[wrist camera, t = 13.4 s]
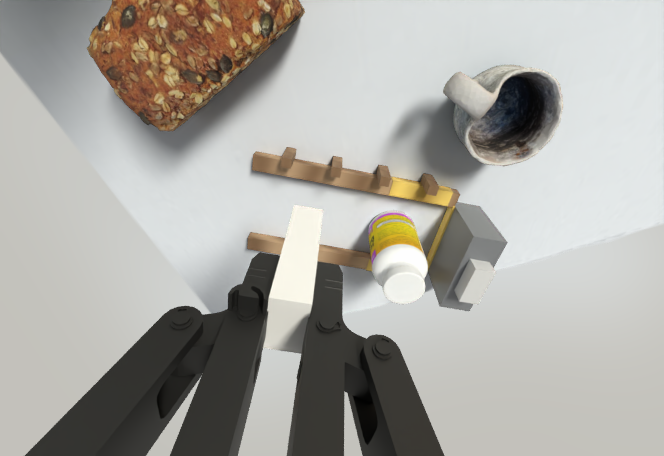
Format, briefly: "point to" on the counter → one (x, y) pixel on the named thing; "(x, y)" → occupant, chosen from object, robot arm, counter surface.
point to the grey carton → (464, 256)
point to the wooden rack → (345, 178)
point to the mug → (505, 112)
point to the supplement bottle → (397, 257)
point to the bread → (183, 50)
